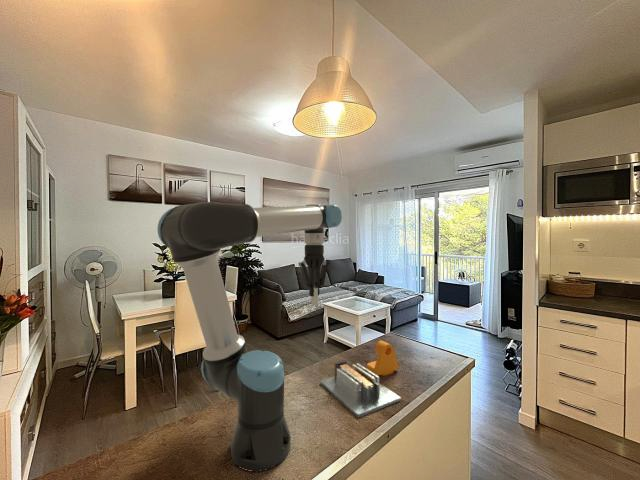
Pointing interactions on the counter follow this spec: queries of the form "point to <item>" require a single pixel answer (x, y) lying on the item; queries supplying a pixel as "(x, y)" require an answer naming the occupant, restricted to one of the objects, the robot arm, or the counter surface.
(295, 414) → the counter surface
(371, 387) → the strap
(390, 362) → the bracket
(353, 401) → the heatsink
